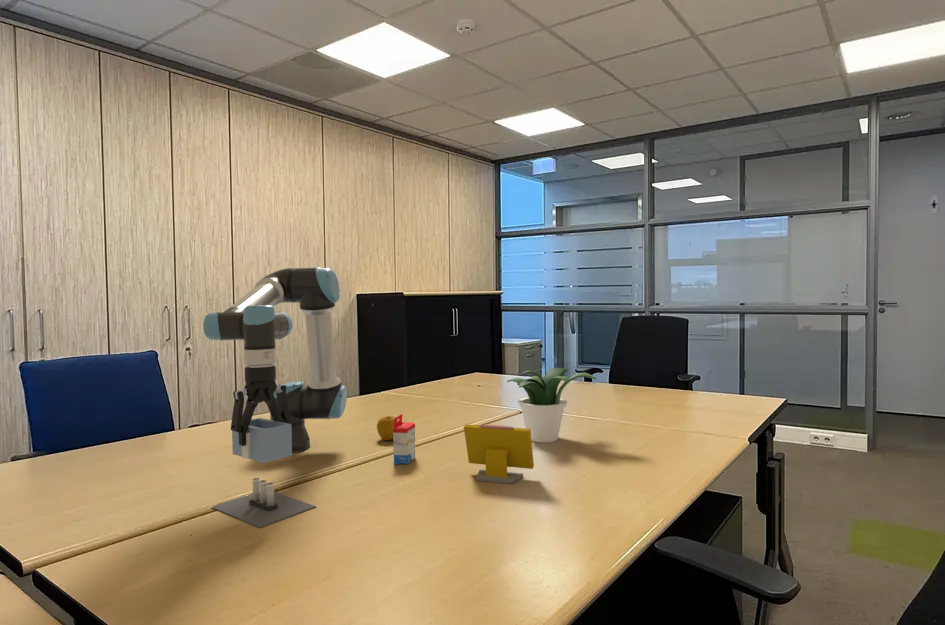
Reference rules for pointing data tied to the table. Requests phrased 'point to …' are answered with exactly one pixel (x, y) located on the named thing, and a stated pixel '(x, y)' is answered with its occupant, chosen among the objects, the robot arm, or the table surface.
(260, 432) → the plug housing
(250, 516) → the header
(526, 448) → the yellow framed monitor
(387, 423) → the apple
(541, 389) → the potted plant
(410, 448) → the ink box
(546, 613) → the table surface
